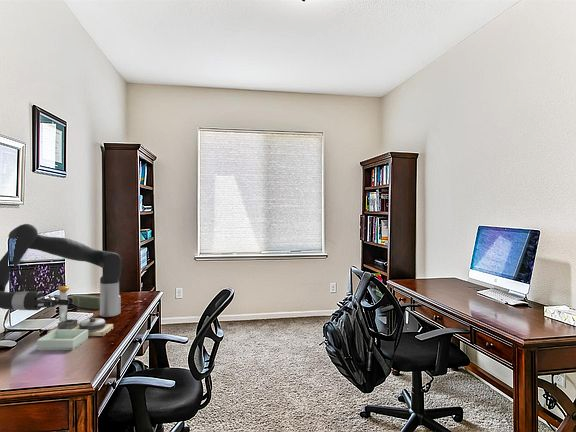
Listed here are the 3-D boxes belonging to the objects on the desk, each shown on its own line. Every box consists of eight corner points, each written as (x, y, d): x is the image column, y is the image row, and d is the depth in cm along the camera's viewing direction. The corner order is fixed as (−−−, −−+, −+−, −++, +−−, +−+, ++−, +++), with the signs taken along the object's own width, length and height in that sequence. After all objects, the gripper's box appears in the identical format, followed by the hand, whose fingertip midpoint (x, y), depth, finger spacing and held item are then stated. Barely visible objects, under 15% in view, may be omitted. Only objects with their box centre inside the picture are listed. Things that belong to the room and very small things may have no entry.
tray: (55, 338, 176) (55, 329, 176) (88, 338, 176) (88, 329, 176) (36, 350, 162) (36, 340, 162) (72, 350, 162) (72, 340, 162)
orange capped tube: (65, 318, 171) (65, 285, 171) (70, 320, 169) (71, 286, 169) (55, 320, 168) (56, 287, 168) (60, 322, 166) (61, 288, 166)
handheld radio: (75, 305, 234) (111, 309, 227) (71, 306, 231) (107, 310, 224) (75, 293, 234) (111, 297, 226) (71, 295, 231) (107, 298, 223)
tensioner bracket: (47, 336, 178) (47, 322, 178) (61, 328, 190) (61, 315, 190) (102, 336, 180) (102, 322, 179) (113, 328, 192) (113, 315, 191)
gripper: (17, 295, 161) (62, 296, 162) (37, 288, 175) (78, 289, 176) (17, 314, 161) (62, 314, 162) (37, 305, 175) (78, 306, 176)
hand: (70, 301), depth 169 cm, fingers closed on orange capped tube, 2 cm apart
